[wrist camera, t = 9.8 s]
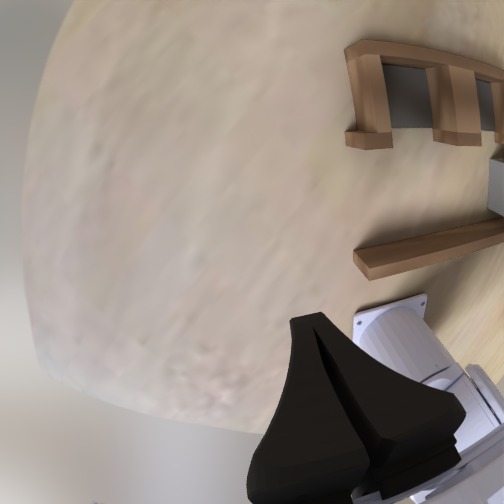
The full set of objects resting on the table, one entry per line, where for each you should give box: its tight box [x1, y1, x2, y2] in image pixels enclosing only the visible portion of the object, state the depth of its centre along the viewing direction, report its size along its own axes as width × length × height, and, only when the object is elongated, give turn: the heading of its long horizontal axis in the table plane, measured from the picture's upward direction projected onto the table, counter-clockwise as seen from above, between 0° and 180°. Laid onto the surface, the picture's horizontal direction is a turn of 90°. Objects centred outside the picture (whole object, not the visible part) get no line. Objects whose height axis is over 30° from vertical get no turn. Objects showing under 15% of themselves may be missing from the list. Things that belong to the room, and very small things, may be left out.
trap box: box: [344, 40, 504, 281], centre depth 17 cm, size 16×26×3 cm, turn 100°
